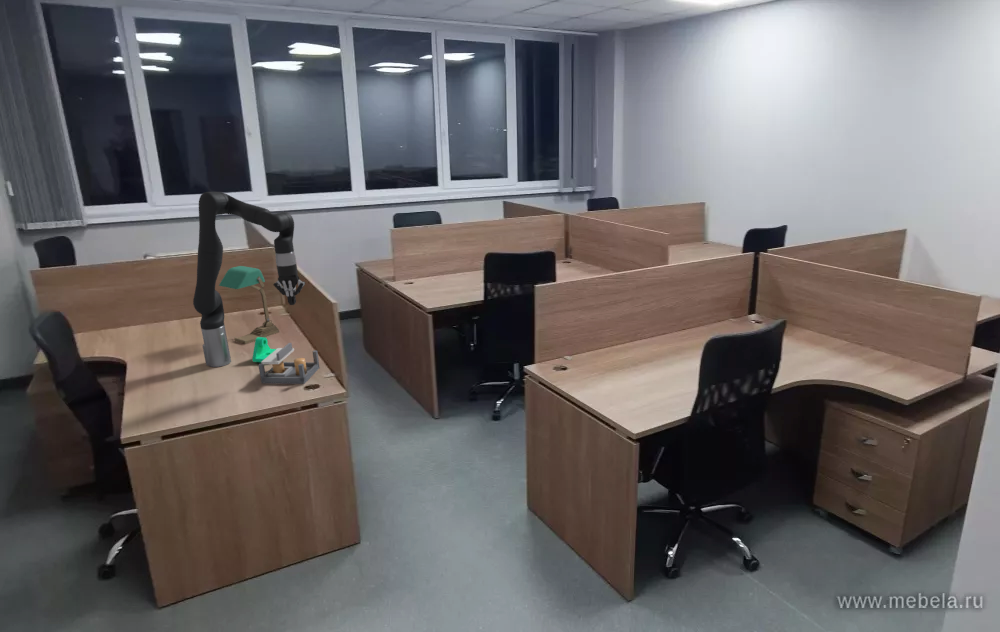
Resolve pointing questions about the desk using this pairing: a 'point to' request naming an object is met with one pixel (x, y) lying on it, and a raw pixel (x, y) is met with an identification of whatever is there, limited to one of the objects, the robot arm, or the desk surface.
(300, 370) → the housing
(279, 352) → the lid
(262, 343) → the camera mount
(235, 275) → the banker's lamp
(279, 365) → the tan egg
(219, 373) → the desk surface
